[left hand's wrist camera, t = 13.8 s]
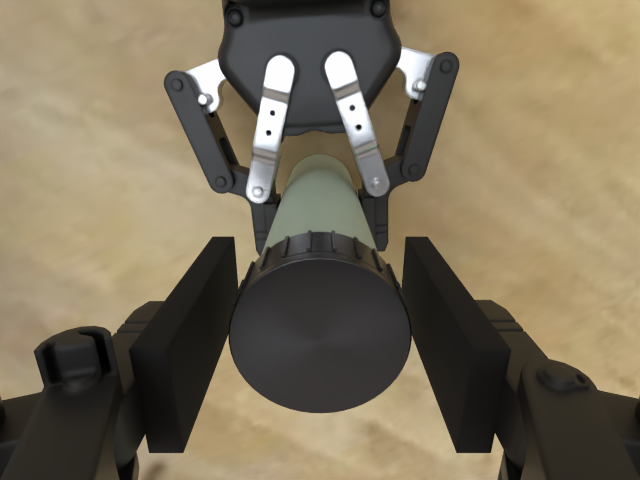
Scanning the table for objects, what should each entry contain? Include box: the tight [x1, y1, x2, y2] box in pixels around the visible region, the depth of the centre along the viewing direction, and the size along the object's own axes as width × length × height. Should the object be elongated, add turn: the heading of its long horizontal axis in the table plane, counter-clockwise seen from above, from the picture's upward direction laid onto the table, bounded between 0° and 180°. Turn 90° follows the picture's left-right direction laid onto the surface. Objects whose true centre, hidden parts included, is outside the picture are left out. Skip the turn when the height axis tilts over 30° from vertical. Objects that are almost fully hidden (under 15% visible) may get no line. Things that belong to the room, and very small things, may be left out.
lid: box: [228, 230, 412, 413], centre depth 11 cm, size 5×5×2 cm
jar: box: [261, 154, 379, 255], centre depth 19 cm, size 4×4×18 cm
